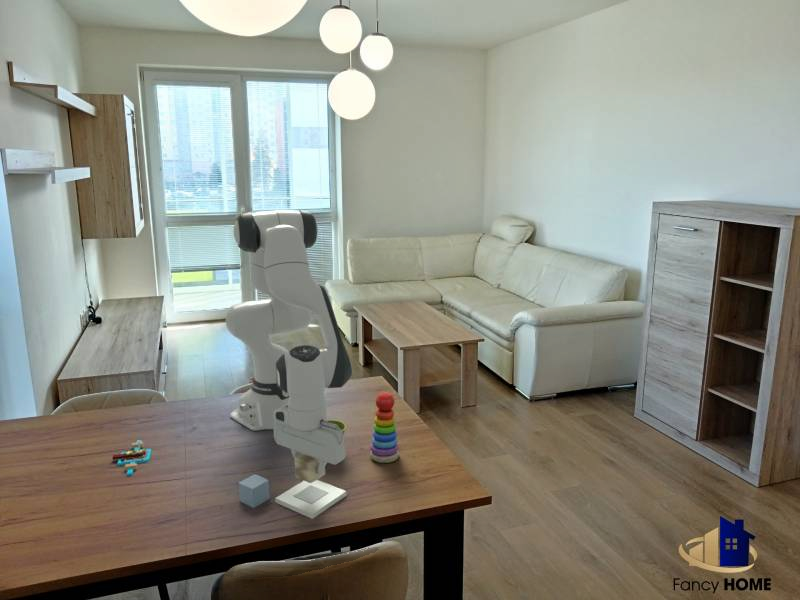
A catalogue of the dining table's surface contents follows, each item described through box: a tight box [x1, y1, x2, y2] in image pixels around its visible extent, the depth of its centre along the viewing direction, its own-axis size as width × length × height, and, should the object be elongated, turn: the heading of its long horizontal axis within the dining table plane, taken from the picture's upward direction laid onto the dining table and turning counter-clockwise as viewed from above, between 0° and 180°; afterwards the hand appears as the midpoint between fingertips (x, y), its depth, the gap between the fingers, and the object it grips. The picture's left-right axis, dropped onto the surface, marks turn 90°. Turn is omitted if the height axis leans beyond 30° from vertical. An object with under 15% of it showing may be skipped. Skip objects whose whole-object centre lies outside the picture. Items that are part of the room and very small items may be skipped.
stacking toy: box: [369, 391, 400, 464], centre depth 165 cm, size 8×8×19 cm
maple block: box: [294, 453, 326, 483], centre depth 144 cm, size 5×5×5 cm
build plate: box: [274, 479, 347, 520], centre depth 146 cm, size 12×12×1 cm
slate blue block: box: [238, 474, 271, 508], centre depth 146 cm, size 5×5×5 cm
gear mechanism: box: [112, 439, 152, 477], centre depth 167 cm, size 20×5×9 cm
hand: (310, 469), depth 145 cm, fingers closed on maple block, 5 cm apart
